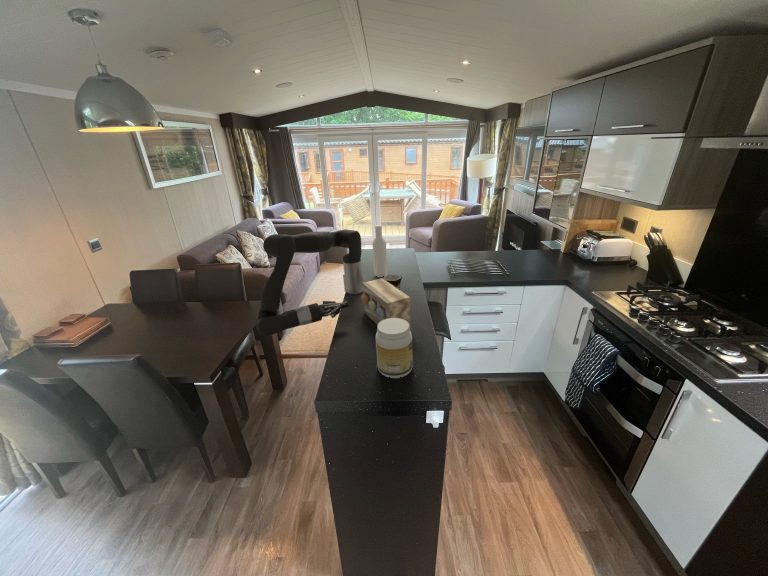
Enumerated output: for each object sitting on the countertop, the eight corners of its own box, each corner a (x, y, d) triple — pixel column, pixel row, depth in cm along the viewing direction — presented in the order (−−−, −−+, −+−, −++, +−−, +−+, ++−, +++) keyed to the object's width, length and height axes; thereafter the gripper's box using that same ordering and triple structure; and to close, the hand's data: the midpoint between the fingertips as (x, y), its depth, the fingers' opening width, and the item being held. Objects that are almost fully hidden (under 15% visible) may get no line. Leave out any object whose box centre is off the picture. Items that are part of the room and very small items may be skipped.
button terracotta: (365, 305, 136) (364, 297, 134) (361, 302, 139) (360, 293, 137) (369, 304, 136) (369, 296, 135) (365, 301, 140) (365, 292, 138)
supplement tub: (417, 376, 102) (417, 332, 95) (381, 382, 100) (378, 338, 93) (407, 354, 113) (406, 313, 106) (374, 360, 111) (371, 319, 104)
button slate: (381, 320, 123) (380, 311, 121) (376, 316, 127) (375, 307, 125) (385, 319, 124) (385, 309, 122) (380, 314, 127) (380, 305, 126)
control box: (389, 336, 125) (387, 303, 119) (364, 312, 145) (362, 282, 138) (410, 329, 129) (409, 297, 123) (383, 307, 149) (382, 278, 142)
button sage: (372, 312, 129) (372, 303, 128) (368, 308, 133) (368, 300, 131) (377, 311, 130) (376, 302, 128) (372, 307, 134) (372, 298, 132)
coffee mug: (389, 300, 155) (388, 282, 151) (381, 294, 162) (380, 276, 158) (409, 294, 160) (409, 276, 156) (401, 289, 167) (400, 271, 163)
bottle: (387, 277, 183) (384, 226, 171) (373, 277, 184) (370, 227, 172) (387, 272, 190) (385, 223, 178) (375, 272, 191) (372, 224, 179)
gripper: (311, 312, 120) (352, 301, 127) (302, 300, 130) (341, 290, 137) (314, 329, 123) (354, 317, 130) (305, 315, 133) (343, 305, 140)
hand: (347, 303), depth 134 cm, fingers closed
